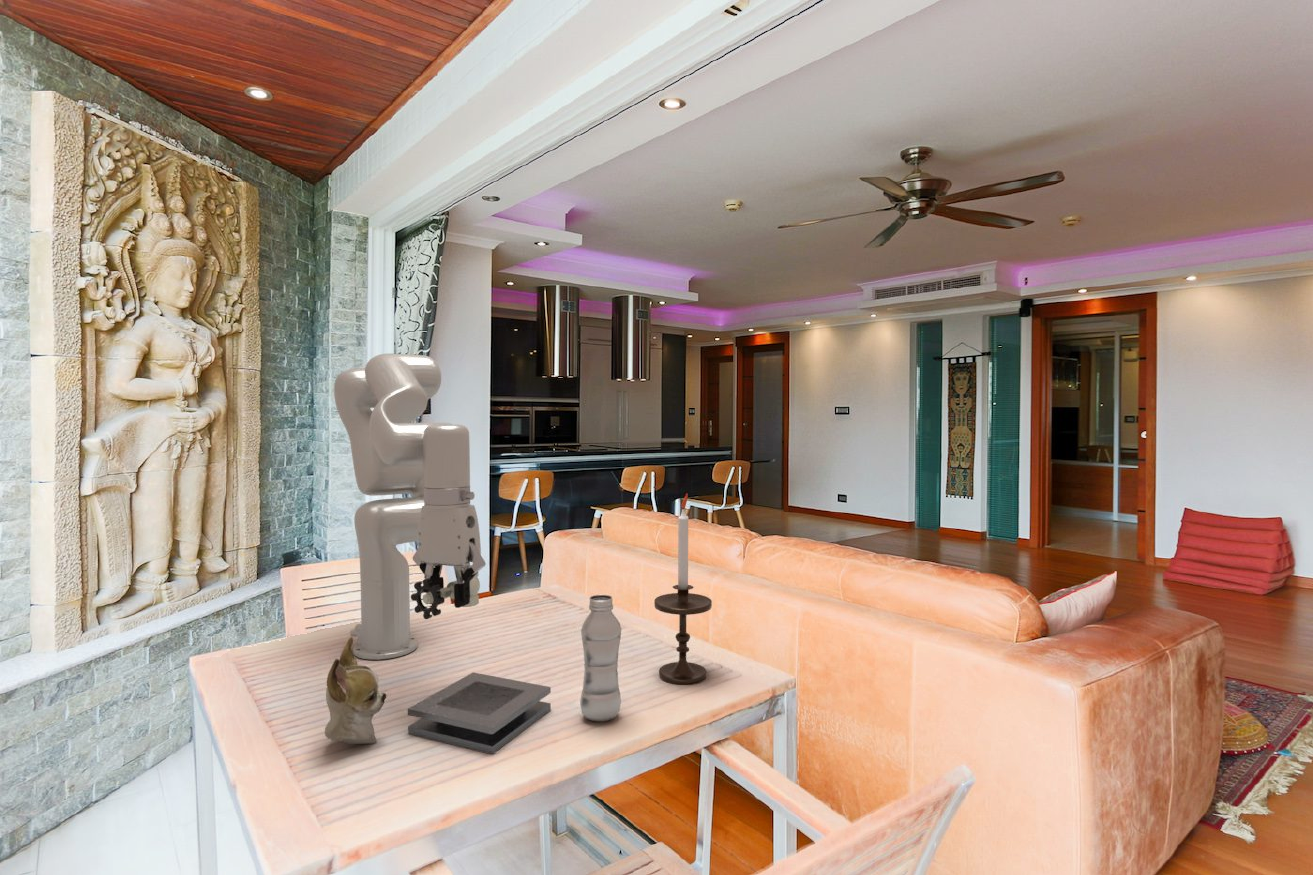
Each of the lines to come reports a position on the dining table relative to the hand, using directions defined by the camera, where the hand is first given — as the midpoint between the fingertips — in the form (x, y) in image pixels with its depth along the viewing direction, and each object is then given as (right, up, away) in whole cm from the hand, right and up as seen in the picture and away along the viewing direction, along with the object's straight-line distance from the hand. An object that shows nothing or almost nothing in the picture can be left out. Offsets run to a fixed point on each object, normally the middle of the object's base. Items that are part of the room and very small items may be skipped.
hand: (449, 602), depth 117 cm
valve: (0, -2, +1) cm, 2 cm away
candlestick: (+40, -17, +14) cm, 46 cm away
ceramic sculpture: (-10, -18, -13) cm, 25 cm away
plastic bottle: (+26, -18, -4) cm, 32 cm away
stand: (+7, -18, -5) cm, 20 cm away
